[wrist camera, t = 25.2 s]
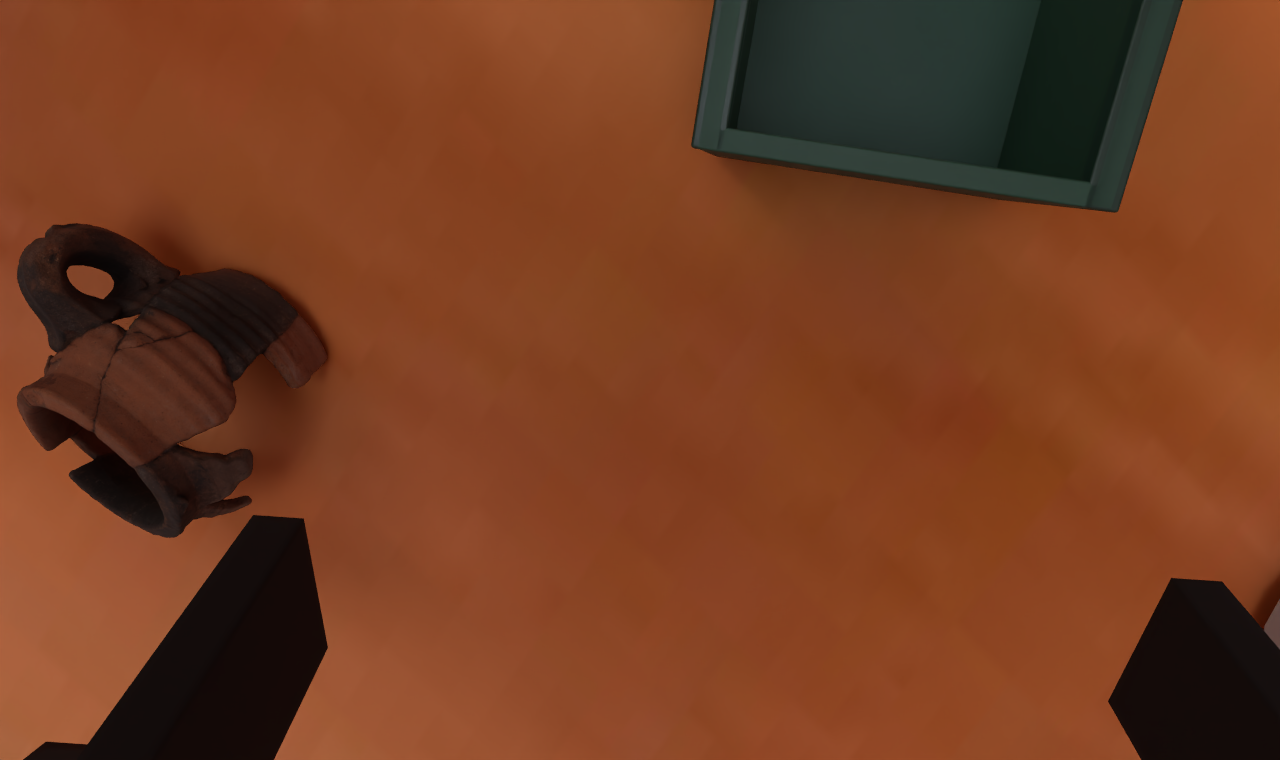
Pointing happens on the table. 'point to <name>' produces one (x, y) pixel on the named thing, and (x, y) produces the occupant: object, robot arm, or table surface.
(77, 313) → the pottery mug
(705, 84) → the open box
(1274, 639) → the can
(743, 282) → the table surface
